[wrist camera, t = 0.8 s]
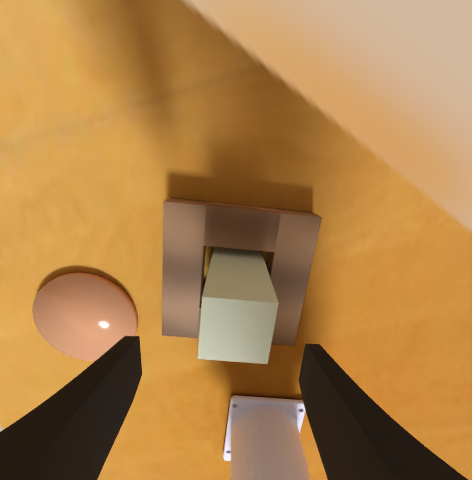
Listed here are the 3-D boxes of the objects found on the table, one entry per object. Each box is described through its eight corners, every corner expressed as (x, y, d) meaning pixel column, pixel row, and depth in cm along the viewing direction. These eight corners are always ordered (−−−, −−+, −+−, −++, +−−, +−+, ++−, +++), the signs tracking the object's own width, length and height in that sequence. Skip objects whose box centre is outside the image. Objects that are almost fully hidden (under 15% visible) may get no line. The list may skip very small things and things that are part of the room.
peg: (255, 292, 21) (267, 364, 13) (210, 288, 21) (197, 358, 13) (261, 251, 20) (278, 303, 12) (214, 246, 20) (202, 296, 12)
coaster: (138, 359, 23) (136, 364, 22) (45, 352, 23) (40, 357, 22) (136, 277, 20) (134, 280, 20) (30, 267, 20) (24, 270, 19)
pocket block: (288, 330, 22) (293, 345, 20) (168, 320, 22) (161, 335, 20) (312, 212, 19) (321, 217, 17) (170, 198, 18) (163, 201, 16)
